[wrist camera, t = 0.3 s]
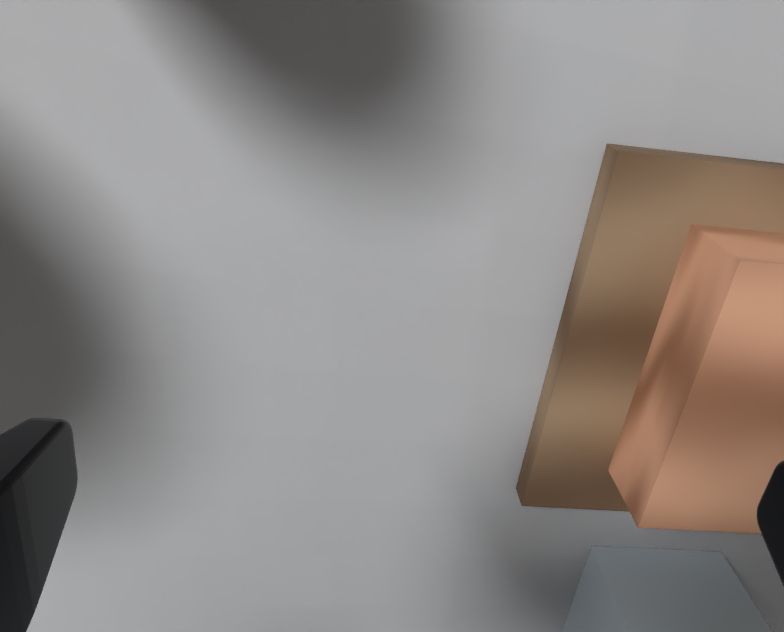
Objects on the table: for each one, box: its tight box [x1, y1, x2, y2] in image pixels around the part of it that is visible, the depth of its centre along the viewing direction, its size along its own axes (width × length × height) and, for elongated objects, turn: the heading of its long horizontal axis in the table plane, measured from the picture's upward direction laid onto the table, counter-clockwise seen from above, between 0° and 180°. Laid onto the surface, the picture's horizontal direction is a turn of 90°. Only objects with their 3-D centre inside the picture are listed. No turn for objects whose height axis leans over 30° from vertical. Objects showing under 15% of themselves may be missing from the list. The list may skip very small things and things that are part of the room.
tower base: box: [516, 144, 784, 534], centre depth 23 cm, size 14×14×4 cm
